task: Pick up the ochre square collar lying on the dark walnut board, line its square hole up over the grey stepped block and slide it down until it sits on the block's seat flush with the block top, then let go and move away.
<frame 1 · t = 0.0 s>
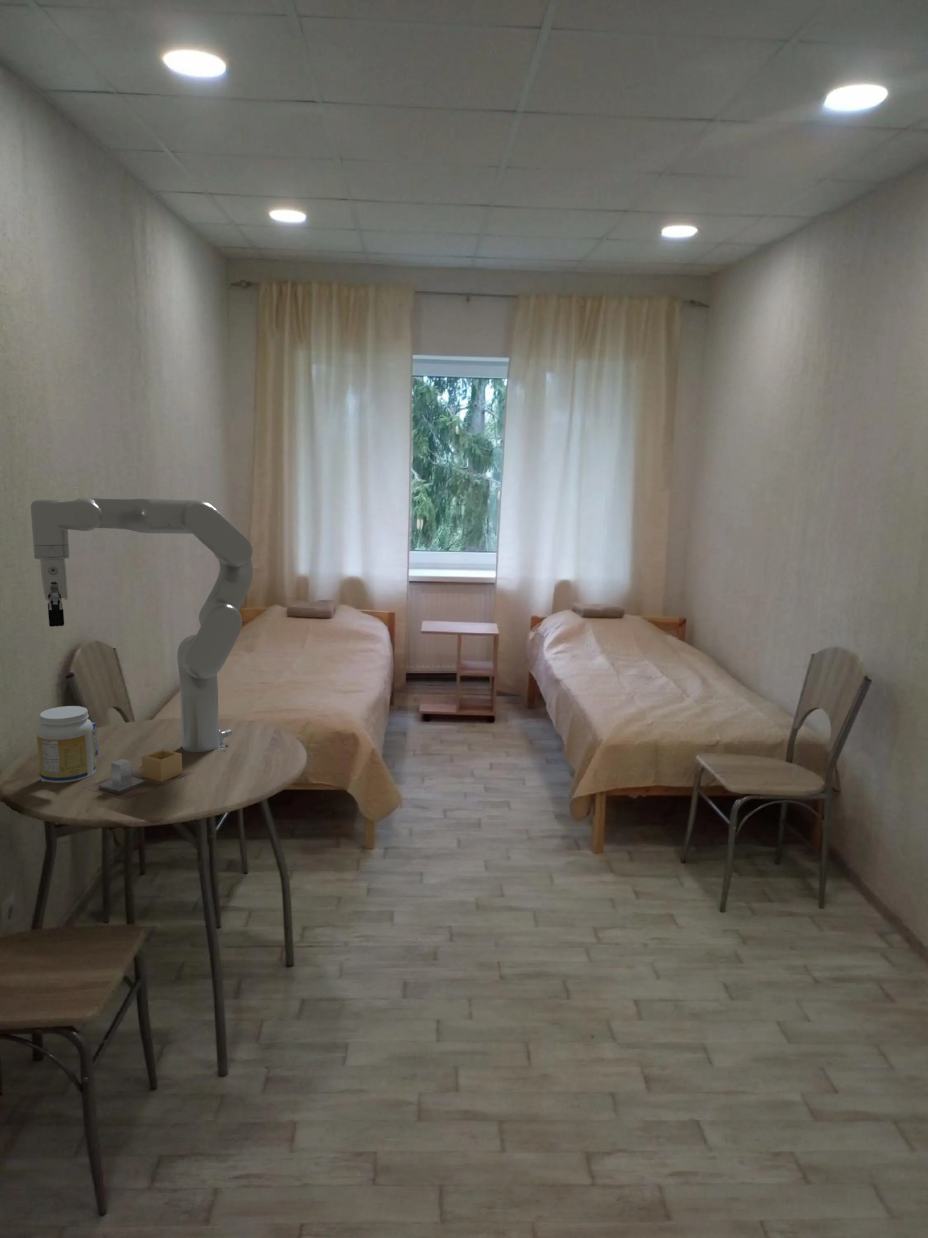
hand: (56, 622, 199), 37 cm above the table, tool pointing down, fingers open, 9 cm apart
board: (140, 785, 196), on the table
supplement tub: (68, 780, 200), on the table
medicine box: (81, 759, 214), on the table
collar: (162, 775, 199), point 1 cm above the table, touching board
grey stepped block: (122, 792, 192), resting on board
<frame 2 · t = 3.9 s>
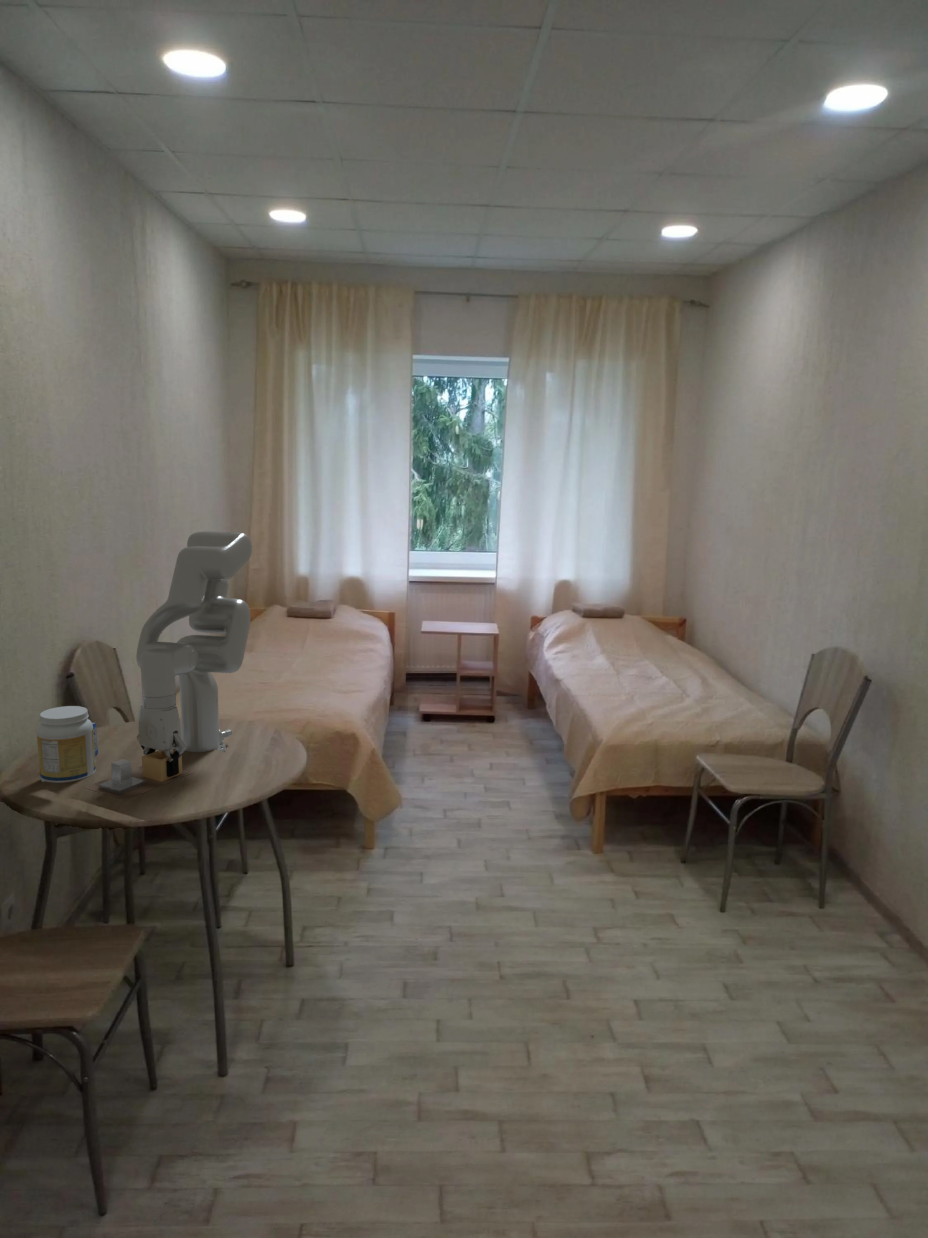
hand: (162, 771, 199), 2 cm above the table, tool pointing down, fingers closed on collar, 6 cm apart
collar: (162, 775, 199), point 2 cm above the table, touching board, gripper
everything else where it was.
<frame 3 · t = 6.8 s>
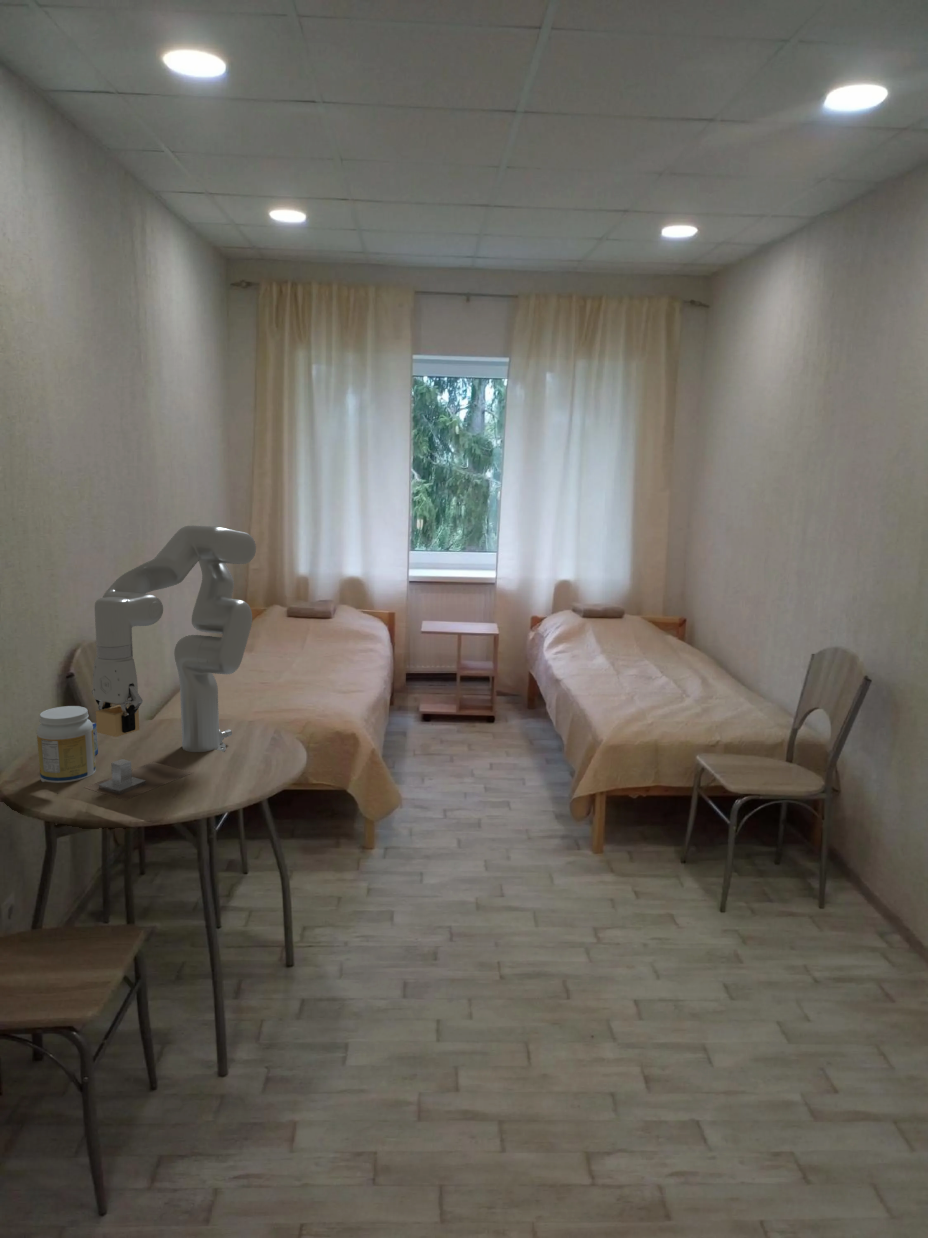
hand: (118, 728, 189), 16 cm above the table, tool pointing down, fingers closed on collar, 6 cm apart
collar: (118, 731, 189), point 15 cm above the table, touching gripper
everything else where it was.
when the fingers open (4 cm above the table, at t = 9.5 s): collar stays where it is, resting on grey stepped block.
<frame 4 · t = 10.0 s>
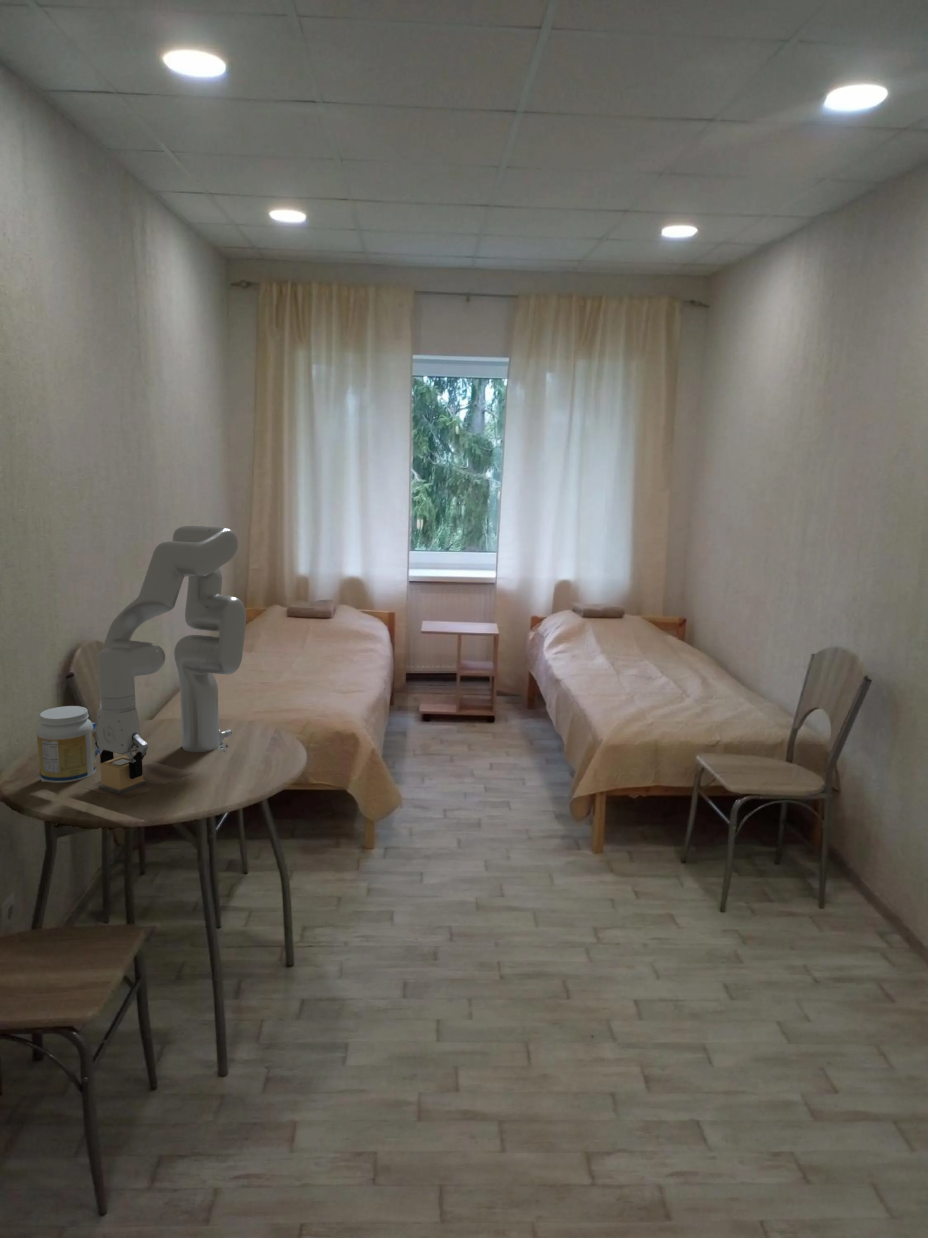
hand: (121, 773, 191), 5 cm above the table, tool pointing down, fingers open, 9 cm apart
collar: (122, 782, 192), point 2 cm above the table, touching grey stepped block
everything else where it was.
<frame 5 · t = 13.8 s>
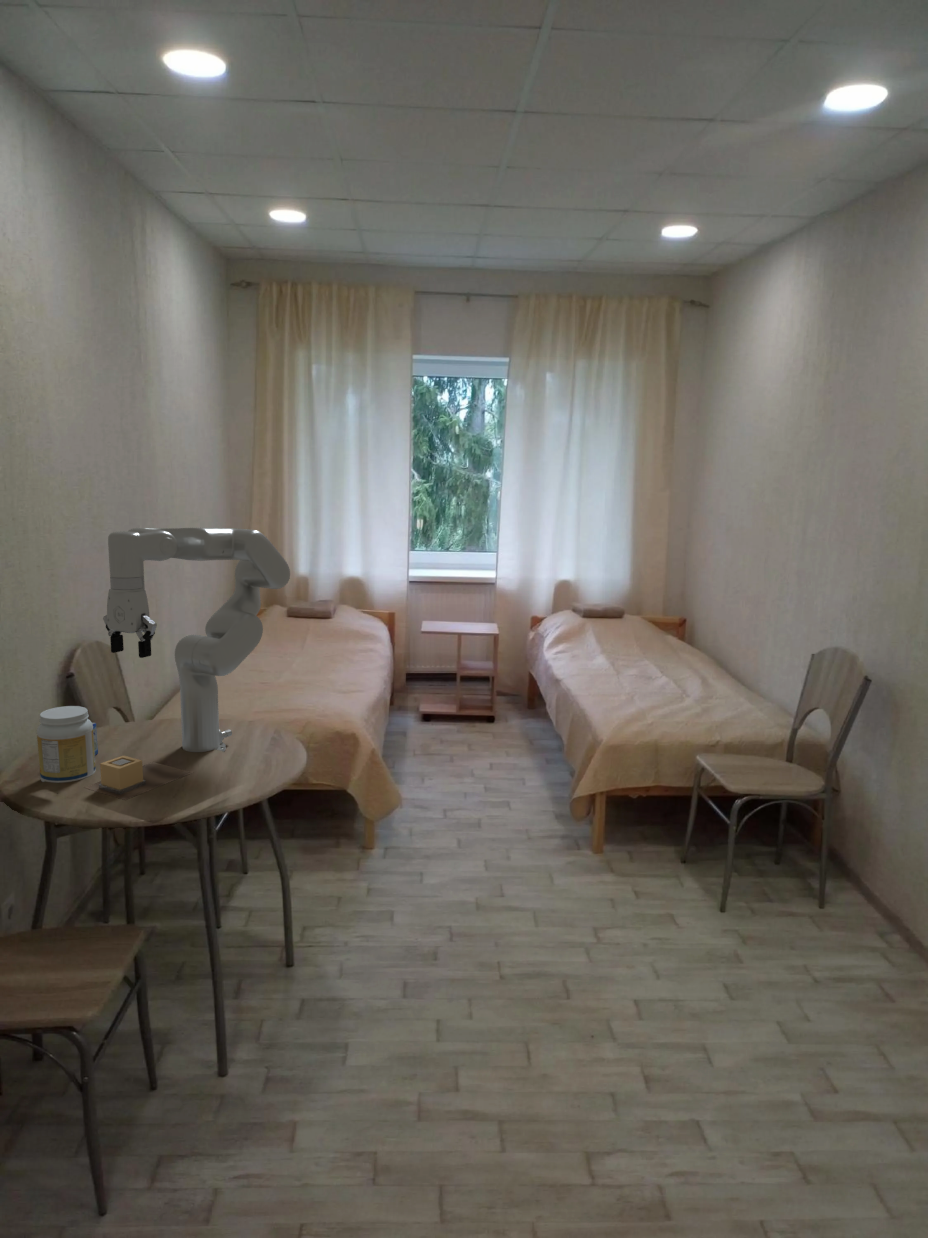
hand: (131, 654, 198), 30 cm above the table, tool pointing down, fingers open, 9 cm apart
nothing on the table moved.
at the end: collar 0.1 cm off-centre on the grey stepped block, point 2.5 cm above the grey stepped block's base; collar tilted 0°; the gripper is holding nothing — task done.
